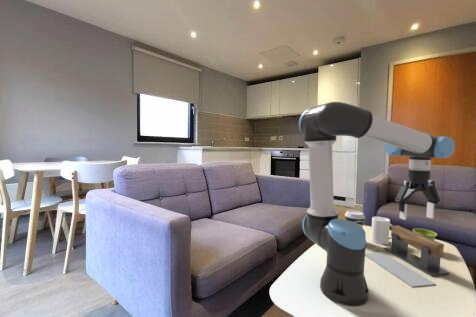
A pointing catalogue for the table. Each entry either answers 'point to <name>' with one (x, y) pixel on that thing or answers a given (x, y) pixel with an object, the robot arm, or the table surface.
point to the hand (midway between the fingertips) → (416, 218)
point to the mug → (380, 230)
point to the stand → (416, 257)
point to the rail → (418, 241)
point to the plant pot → (426, 233)
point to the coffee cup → (355, 217)
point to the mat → (399, 270)
